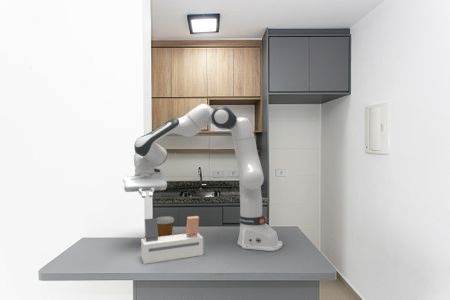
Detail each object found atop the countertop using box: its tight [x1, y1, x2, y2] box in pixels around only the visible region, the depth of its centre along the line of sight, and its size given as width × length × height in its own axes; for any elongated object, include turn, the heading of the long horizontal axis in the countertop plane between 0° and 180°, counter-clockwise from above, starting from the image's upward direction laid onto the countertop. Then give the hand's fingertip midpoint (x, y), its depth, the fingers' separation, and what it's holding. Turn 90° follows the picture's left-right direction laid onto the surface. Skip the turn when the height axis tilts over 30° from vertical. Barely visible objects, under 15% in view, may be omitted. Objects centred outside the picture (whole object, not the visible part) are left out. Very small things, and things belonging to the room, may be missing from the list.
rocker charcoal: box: [144, 217, 158, 241], centre depth 132 cm, size 2×5×9 cm, turn 112°
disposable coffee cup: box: [156, 215, 175, 237], centre depth 156 cm, size 10×10×12 cm
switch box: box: [140, 232, 204, 265], centre depth 134 cm, size 9×26×8 cm, turn 113°
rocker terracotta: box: [185, 215, 200, 236], centre depth 136 cm, size 2×5×9 cm, turn 112°
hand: (147, 196), depth 142 cm, fingers open, 2 cm apart
